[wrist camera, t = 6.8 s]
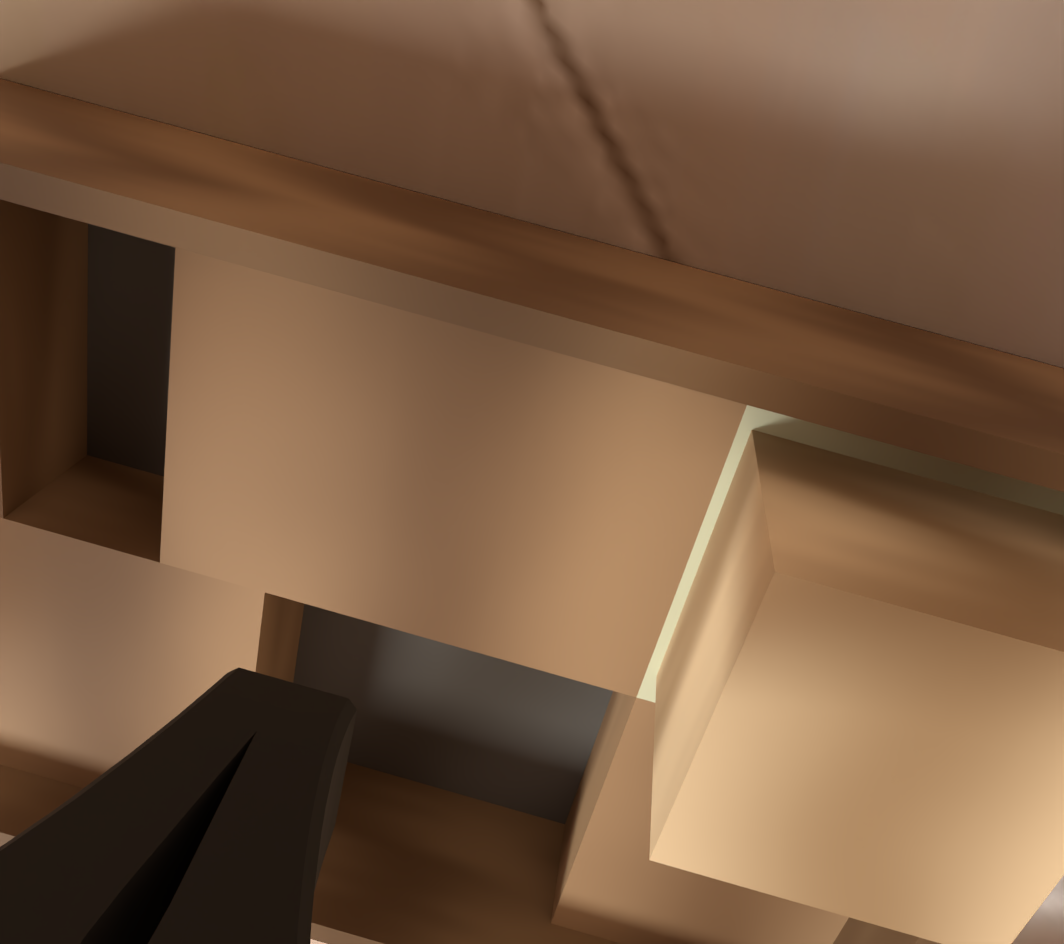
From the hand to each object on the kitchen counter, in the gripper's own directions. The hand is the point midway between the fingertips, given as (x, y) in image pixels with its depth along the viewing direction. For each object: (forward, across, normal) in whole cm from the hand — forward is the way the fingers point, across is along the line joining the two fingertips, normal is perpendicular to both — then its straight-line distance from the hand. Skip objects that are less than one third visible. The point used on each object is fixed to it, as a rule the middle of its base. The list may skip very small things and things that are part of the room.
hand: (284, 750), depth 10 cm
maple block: (+6, -7, 0) cm, 10 cm away
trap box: (+9, -1, +3) cm, 10 cm away
